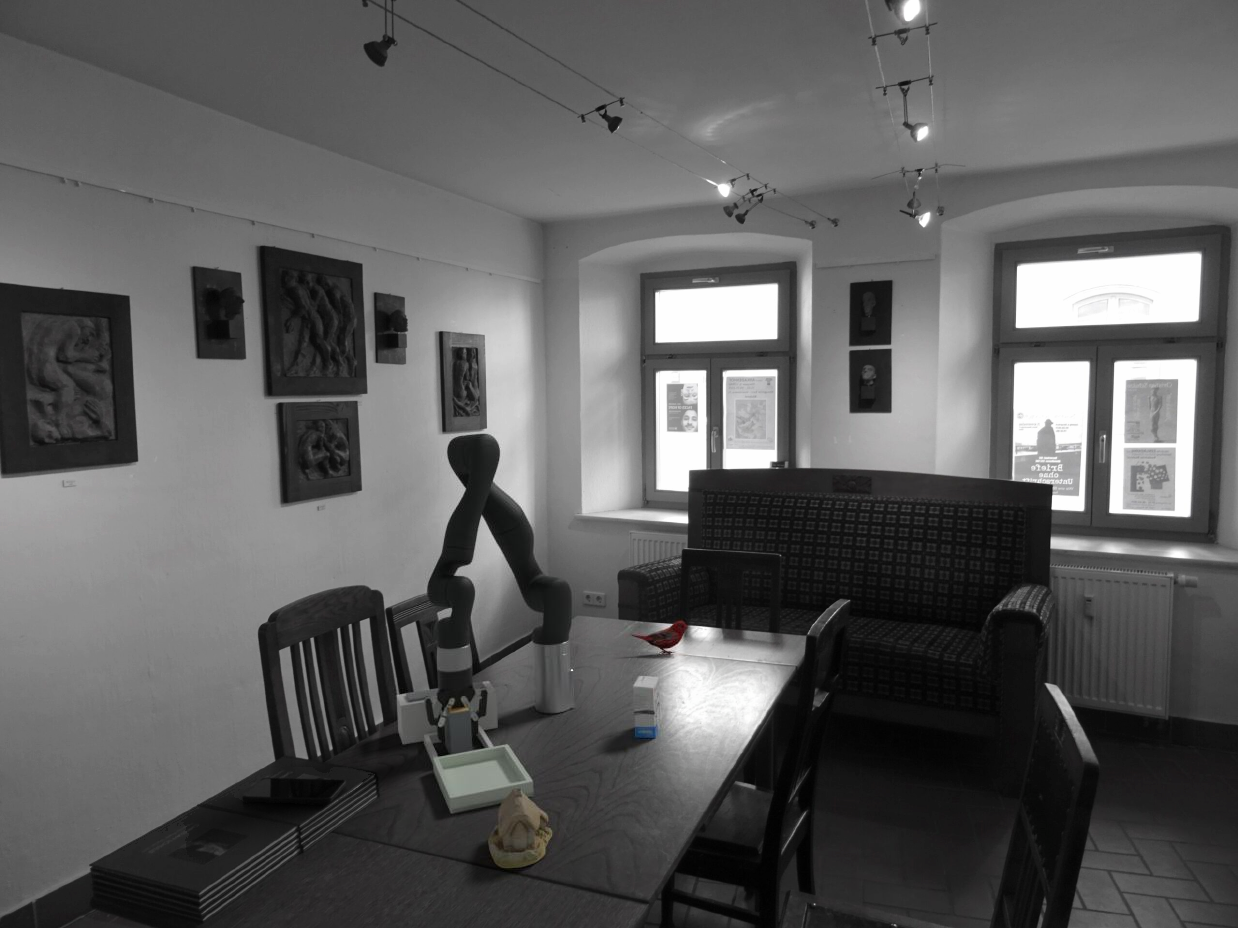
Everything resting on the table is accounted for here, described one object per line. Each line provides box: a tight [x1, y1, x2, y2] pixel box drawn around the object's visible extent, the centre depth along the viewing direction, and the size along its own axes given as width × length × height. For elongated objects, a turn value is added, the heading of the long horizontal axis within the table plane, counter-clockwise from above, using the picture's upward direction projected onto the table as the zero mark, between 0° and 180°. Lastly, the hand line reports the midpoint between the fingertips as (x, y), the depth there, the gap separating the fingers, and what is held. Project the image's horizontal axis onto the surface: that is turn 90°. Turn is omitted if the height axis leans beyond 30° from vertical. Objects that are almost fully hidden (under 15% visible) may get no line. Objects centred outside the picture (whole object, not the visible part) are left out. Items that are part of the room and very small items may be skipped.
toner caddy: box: [444, 707, 473, 755], centre depth 184 cm, size 4×8×10 cm, turn 22°
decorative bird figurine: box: [630, 620, 690, 655], centre depth 251 cm, size 3×18×10 cm, turn 89°
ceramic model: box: [487, 787, 553, 869], centre depth 142 cm, size 14×11×10 cm
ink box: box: [632, 675, 661, 739], centre depth 191 cm, size 9×5×12 cm, turn 168°
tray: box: [432, 743, 535, 814], centre depth 167 cm, size 16×20×3 cm
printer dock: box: [396, 680, 499, 764], centre depth 188 cm, size 22×24×10 cm
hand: (458, 738), depth 184 cm, fingers open, 6 cm apart
